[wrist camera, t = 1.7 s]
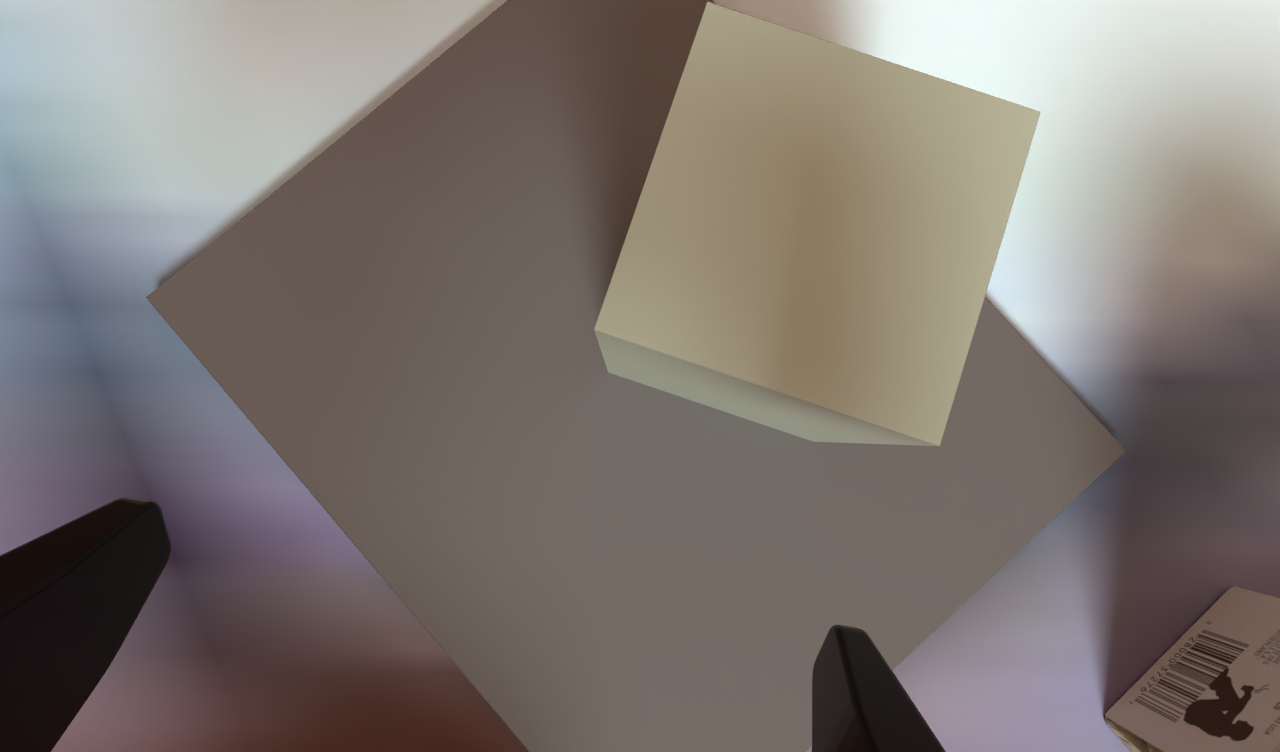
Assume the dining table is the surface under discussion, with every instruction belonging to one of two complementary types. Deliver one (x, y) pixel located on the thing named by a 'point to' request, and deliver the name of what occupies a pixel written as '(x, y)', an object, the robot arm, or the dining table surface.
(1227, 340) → the dining table surface
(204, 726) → the dining table surface
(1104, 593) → the dining table surface
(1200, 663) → the coffee box
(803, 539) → the mat
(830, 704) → the robot arm
